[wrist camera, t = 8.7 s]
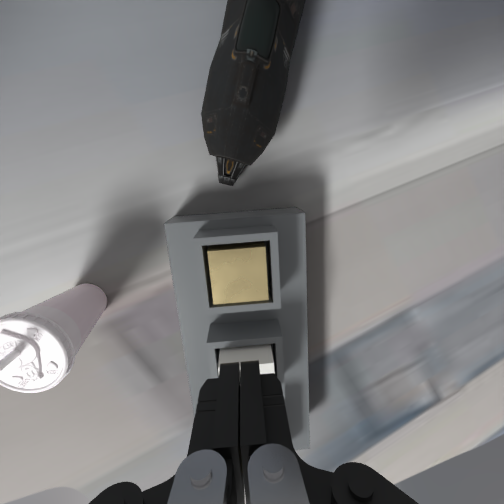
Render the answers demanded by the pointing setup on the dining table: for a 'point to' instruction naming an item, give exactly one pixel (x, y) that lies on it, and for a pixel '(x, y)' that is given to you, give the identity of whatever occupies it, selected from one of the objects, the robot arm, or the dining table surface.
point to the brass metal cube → (238, 272)
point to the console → (245, 313)
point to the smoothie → (47, 338)
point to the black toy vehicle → (248, 81)
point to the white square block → (249, 356)
